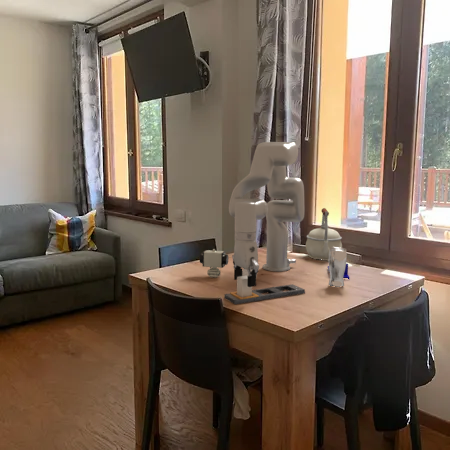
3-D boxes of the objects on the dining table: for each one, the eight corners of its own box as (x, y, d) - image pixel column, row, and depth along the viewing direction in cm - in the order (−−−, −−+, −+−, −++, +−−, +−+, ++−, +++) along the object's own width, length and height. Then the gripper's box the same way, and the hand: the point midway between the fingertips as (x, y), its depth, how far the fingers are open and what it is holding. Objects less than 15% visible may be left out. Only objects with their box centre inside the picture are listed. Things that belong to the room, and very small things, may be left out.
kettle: (304, 252, 244) (306, 206, 241) (339, 253, 242) (341, 207, 238) (306, 263, 220) (308, 212, 216) (344, 264, 217) (347, 213, 214)
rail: (292, 287, 177) (292, 283, 177) (304, 293, 170) (304, 288, 170) (224, 298, 164) (224, 293, 163) (234, 304, 157) (235, 299, 156)
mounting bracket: (327, 269, 208) (327, 257, 207) (343, 270, 207) (344, 257, 207) (331, 280, 191) (332, 266, 190) (349, 280, 190) (349, 267, 189)
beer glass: (335, 288, 176) (337, 251, 174) (323, 284, 183) (325, 248, 180) (348, 286, 180) (350, 249, 177) (337, 282, 186) (338, 246, 184)
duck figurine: (250, 291, 180) (268, 269, 179) (235, 280, 179) (253, 258, 178) (247, 283, 192) (263, 262, 191) (233, 272, 191) (249, 251, 190)
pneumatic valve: (225, 278, 190) (226, 251, 188) (199, 277, 192) (199, 249, 191) (228, 275, 195) (229, 248, 193) (202, 273, 198) (202, 247, 196)
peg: (246, 296, 166) (246, 275, 164) (251, 299, 162) (252, 278, 161) (236, 298, 164) (236, 276, 163) (242, 301, 160) (242, 279, 159)
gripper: (267, 239, 154) (266, 287, 156) (242, 231, 169) (242, 275, 172) (248, 241, 150) (247, 290, 153) (224, 233, 165) (224, 278, 168)
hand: (244, 282), depth 162 cm, fingers open, 9 cm apart
